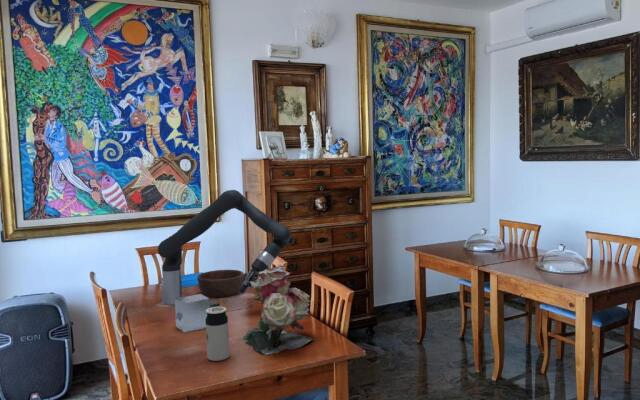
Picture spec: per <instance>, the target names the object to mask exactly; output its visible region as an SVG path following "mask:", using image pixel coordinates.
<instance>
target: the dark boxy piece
mask: <svg viewBox="0 0 640 400" xmlns="http://www.w3.org/2000/svg"><path fill="white" fill-rule="evenodd" d="M209 302H210V308H212V307H221V304H220V302H218V301H216V299H215V300H209ZM176 318H177V319H181V315H180V313H177V314H176V315H175V319H176Z"/></svg>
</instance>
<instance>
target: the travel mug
mask: <svg viewBox="0 0 640 400" xmlns="http://www.w3.org/2000/svg"><path fill="white" fill-rule="evenodd" d="M227 310H228V309H227V307H225V306H220V307H212V308H208V309H207V310H206V313H207V317H206V319H205V320H206V328H205V331H206V332H205V334H206V335H205V337H206V356H207V359H208V360H210V361H212V362H213V361H214V362H218V361H219V362H221V361H224V360H226V359H228V358H229V357H230V339H229V319H228V315H227V314H226V312H227Z"/></svg>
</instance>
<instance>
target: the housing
mask: <svg viewBox="0 0 640 400" xmlns="http://www.w3.org/2000/svg"><path fill="white" fill-rule="evenodd" d="M209 301H210V297H208V296H205V295H203V294H202V293H200V294H199V293H198V294H193V295H189V296H188V295H187V296H182V298H176V299H175V305H174V312H175V316H176V314H177V313H180V315H181V319H177V318H176V317H175V327H176V328H177V329H179V330H180V331H181V332H183V333H184V334H185V333H189V332H194V331H198V330H202V329H206V320H205V319H206V317H207V313H206V310H207V309H208V308H210V302H209Z"/></svg>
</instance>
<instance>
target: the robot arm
mask: <svg viewBox="0 0 640 400" xmlns="http://www.w3.org/2000/svg"><path fill="white" fill-rule="evenodd" d="M233 209H236V210H237V211H240V212H241V213H243V214H245V216H247V217H248V218H249V219H250V221H251V222H252V223H253V224H254V225H255V226H257V227H258V228H260V229H261V230H262V231H264V232H266V233H267V234H271V235H273V236H274V238H273V239H272V241H270V242H269V243H268V244H267V245H266V246H265V247H264V249H263V250H262V251H261V252H260V253H259V255H258V256H257V257H256V258H255V259H254V261H253V262H252V263H251V266H250V267H251V269H250V270H249V271H248V272H244V277H243V280H242V282H243V285H242V286H241V288H240V289H239V293H241V294H242V295H244V293H245V292H246V291H247V289H249V288H253V287H252V286H251V283H250V282H252V281H259V279H260V277H259V276H258V274H257V273H256V272H258V273H259V272H261V271H265V269H268V268H271V266H272V265H273V263H274V262H275V260H276V258H278V256H279V255H280V253H281V251H283V249H284V248H286V246H287V245H288V244H289V242H290V241H291V239H292V232H291V229H290V228H289V227H287V226H286V225H284V224H283V223H281V222H279V221H276V220H274V218H272V217H271V216H269V215H267V214H266V213H264V212H263V211H262V210H261V209H259V208H258V207H256V206H255V205H254V204H253V203H251V202H250V201H249V200H248V199H247V198H246V197H245V196H244V195H243V194H242V193H241V192H240V191H238V190H237V189H230V190H226V191H224V192H222V193H221V194H220V195H219V196H218V197H217V198H216V199H215V200H214V201H213V202H212V203H211V204H210V205H208V206H207V207H205V208H204V209H203V210H201V211H200V212H198V213H196V215H194V216H193V217H191V219H189V220H188V221H187V222H186V223H184V224H183V226H181V227H180V228H179V229H178V230H177V231H176V232H175V233H173V234H172V235H170V236H169V237H166V238H165V239H164V240H162V241H160V242H159V244H158V247H157V253H158V255H159V256H160V257H162V258H164V262H163V264H162V265H161V270H162V278H163V284H162V285H161V298H162V299H161V301H162V305H166V306H175V299H176V298H182V297H183V287H182V279H181V275H182V267H181V266H182V263H183V246H185V244H188V243H189V242H191V241H193V240H195V239H197V238H198V237H200V236H201V235H203V234H204V233H206V231H208V230H209V229H210V228H211V227H212V226H213V225H214V224H215V222H216V221H217V220H218V219H219V218H220V217H221V216H222V215H224V214H225V213H228V212H229V211H230V210H231V211H232V210H233Z"/></svg>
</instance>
